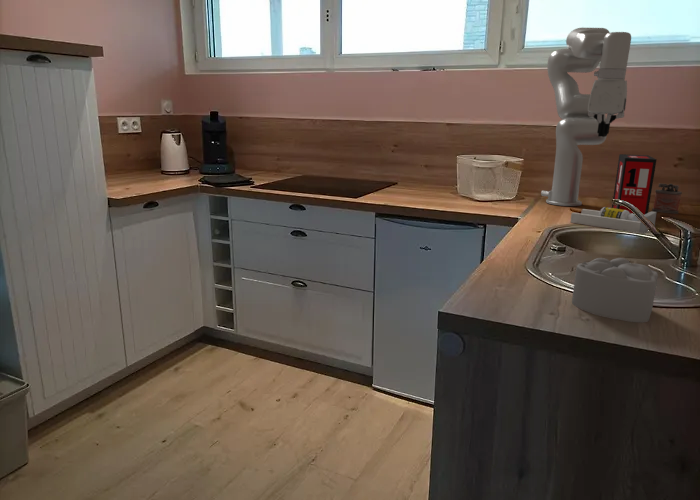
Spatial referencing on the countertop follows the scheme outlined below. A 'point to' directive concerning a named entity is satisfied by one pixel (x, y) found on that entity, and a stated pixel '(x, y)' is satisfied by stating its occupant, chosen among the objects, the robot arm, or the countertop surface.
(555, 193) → the robot arm
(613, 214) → the supplement bottle
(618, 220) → the u rest
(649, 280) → the lumpy-topped squat cylinder
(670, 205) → the lighter
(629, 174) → the cleaning product box
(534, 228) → the countertop surface
